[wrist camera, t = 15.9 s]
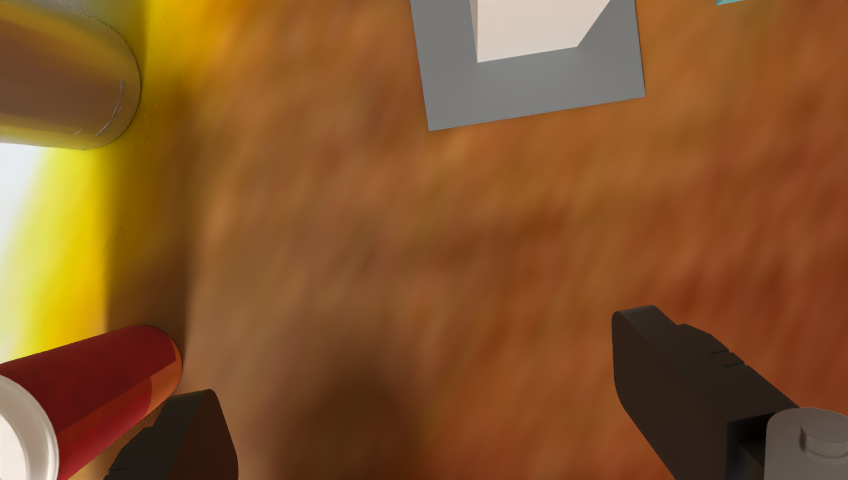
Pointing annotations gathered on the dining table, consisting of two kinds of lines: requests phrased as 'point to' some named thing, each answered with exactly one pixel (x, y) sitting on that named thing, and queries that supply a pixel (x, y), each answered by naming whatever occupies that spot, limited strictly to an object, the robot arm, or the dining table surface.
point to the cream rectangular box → (530, 25)
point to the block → (725, 1)
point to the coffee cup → (81, 399)
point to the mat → (521, 68)
